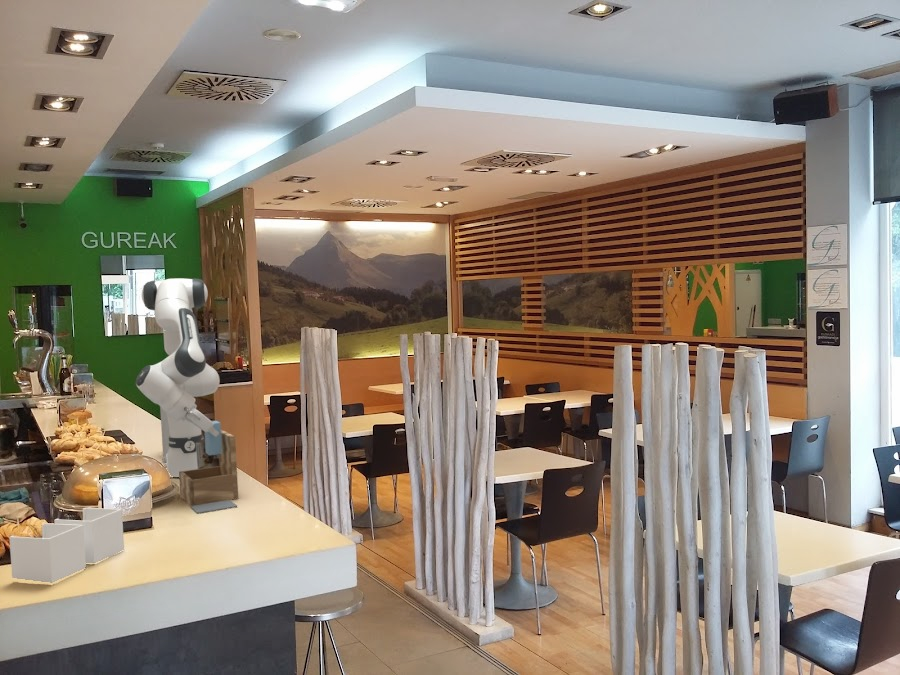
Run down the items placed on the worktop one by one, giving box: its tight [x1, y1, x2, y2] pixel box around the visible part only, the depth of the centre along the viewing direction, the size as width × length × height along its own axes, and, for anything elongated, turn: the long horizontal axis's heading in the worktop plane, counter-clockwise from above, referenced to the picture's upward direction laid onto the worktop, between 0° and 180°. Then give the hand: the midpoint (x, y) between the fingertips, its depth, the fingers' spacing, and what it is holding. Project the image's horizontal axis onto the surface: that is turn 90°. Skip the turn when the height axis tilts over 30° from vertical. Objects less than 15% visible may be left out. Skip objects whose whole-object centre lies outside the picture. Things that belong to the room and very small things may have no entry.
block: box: [204, 420, 222, 455], centre depth 260 cm, size 5×4×10 cm
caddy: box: [178, 429, 239, 507], centre depth 259 cm, size 16×14×20 cm
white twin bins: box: [9, 507, 125, 583], centre depth 197 cm, size 25×11×11 cm, turn 164°
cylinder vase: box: [159, 406, 170, 457], centre depth 327 cm, size 12×12×25 cm
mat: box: [190, 500, 238, 515], centre depth 247 cm, size 9×12×1 cm
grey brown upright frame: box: [196, 438, 219, 469], centre depth 274 cm, size 9×6×16 cm
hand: (214, 433), depth 260 cm, fingers closed on block, 5 cm apart
